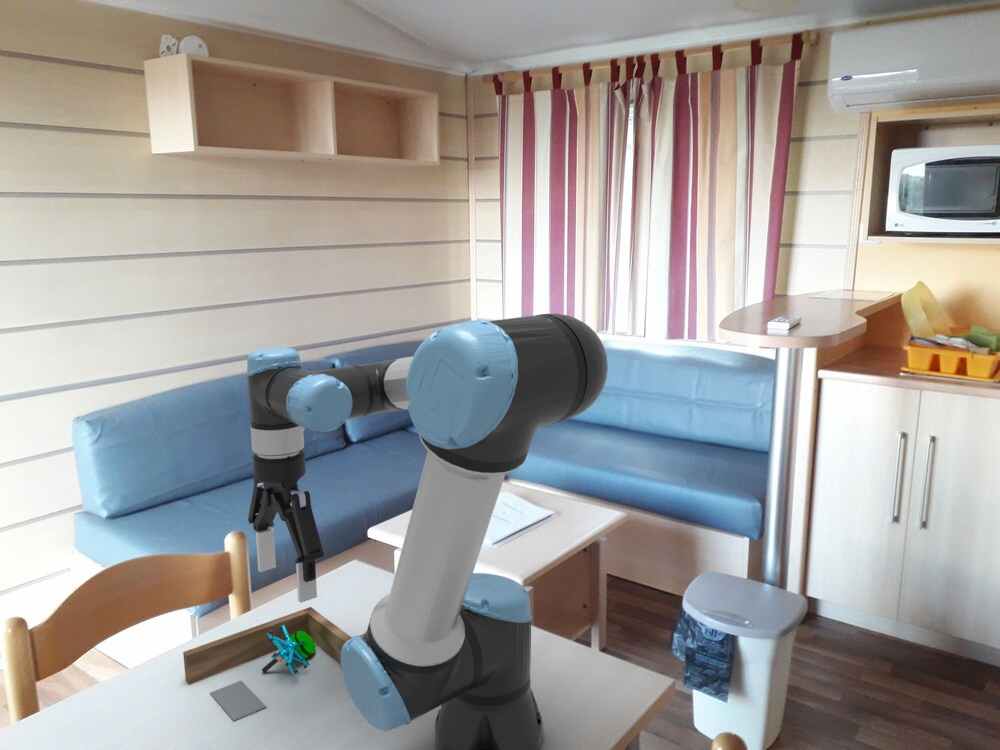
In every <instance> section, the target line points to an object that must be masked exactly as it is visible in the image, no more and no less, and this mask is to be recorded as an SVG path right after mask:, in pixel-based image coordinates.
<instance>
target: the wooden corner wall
mask: <svg viewBox="0 0 1000 750" xmlns="http://www.w3.org/2000/svg"><path fill="white" fill-rule="evenodd" d="M282 625H284V626H285V628H286V630H287V632H288V634H291V635H295V633H297V632H298V631H303V632H305V633H307V634H308V635H309V636H310V637H311V638H312V639H313V641H314V643H315V646H317V647H318V648H320V649H321V650H322V651H324V652H325V653H326V654H327V655H328V656H329V657H331V658H332V660H334V661H335V662H336V663H338V664H339V665H340V666H341V650H342V647H343V645H344V644H345V643H346V642H347V641H348V640H350V639H352V637H353V636H352V637H351V636H350V635H349V634H347V632H345V630H344V631H343V630H342V629H341V628H340V627H338V626H337V624H334V623H333V622H331V620H329V619H328V618H326V617H325V616H324V615H322V614H321V613H320V612H318V611H317V610H316V609H314V608H313V607H312V606H310V607H309V606H308V607H305V608H303V609H301V610H298V611H295V612H293V613H292V612H291V613H289V614H286V615H284V616H281V617H279V618H275V619H273V620H270V621H267V622H264V623H261V624H258V625H256V626H253V627H250V628H247V629H245V630H242V631H239V632H236V633H234V634H233V633H232V634H230V635H227V636H224V637H222V638H219V639H217V640H213V641H210V642H207V643H205V644H202V645H199V646H196V647H193V648H190V649H188V650H185V651H183V653H182V655H183V665H184V677H185V682H186V683H187V684H188V685H189V686H190V685H192V684H196V683H198V682H201V681H203V680H205V679H208V678H211V677H213V676H215V675H218V674H221V673H224V672H226V671H227V670H228V671H229V670H231V669H233V668H236V667H238V666H240V665H243V664H246V663H249V662H251V661H253V660H256V659H258V658H261V657H263V656H266V655H268V654H271V653H275V652H277V651H278V650H279V651H280V649H279V648H278V647H277V646H276V645H275V644H274V642H273V641H272V642H271V641H270V638H269V637H268V635H267V634H268V633H269V632H270V631H273V633H272V634H271V635H272V636H273V637H274V636H275V637H278V638H280V639H282V640H284V641H285V638H286V637H285V634H284V632H283V629H281V630H279V628H280V627H281V626H282ZM280 645H281V646H282V647H284V645H283V644H281V643H280Z"/></svg>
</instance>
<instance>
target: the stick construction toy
mask: <svg viewBox="0 0 1000 750" xmlns="http://www.w3.org/2000/svg"><path fill="white" fill-rule="evenodd" d="M281 629H283V632H284V634H285V637H286V638H285V641H284V640H282V639H280V638H278V637H275V636H274V637H273V636H272V635H271V634H272V633H273V631H270V632H269V633H268V634H267V635H268V637H269V638H270V641H271V642H272V641H273V642H274V644H275V645H276V646H277V647H278V648H279V651H278V652H273V654H272V655H271V656H270V657H271V661H269V662H268V663H267V664H266V665H265V666H264V667H263V668H261V672H262V673H263V674H265V673H267V672H268V671H269V670H270V669H271V668H273V666H274V665H276V664H277V663H278V662H279V663H280V662H282V661H284V660H285V661H286V663H285V666H286V667H288V668H289V669H290V671H291V674H292V675H293V676H294V675H296V674H297V673H298V672H299V670H298V669H295V667H294V665H293V663H292V662H293V660H295V661H297V662H300V663H303V664H304V666H303V668H304V669H307V668H308V667H309V666H310V663H309V662H308V661H307V658H308V657H309V656H311V655H313V654H314V653H315V652H316V649H317V648H316V644H315V643H314V641H313V639H312V638H311V637H310V636H309V635H308V634H307V633H305V632H303V631H298V632H297V633H295V635H291V634H288V632H287V630H286V628H285V626H284V625H282V626H281V627H280V628H279V630H281ZM280 643H281V644H283V645H284V647H282V646H281V645H280Z"/></svg>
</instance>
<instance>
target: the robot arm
mask: <svg viewBox="0 0 1000 750" xmlns="http://www.w3.org/2000/svg"><path fill="white" fill-rule="evenodd" d="M246 360H247V361H246V362H247V371H246V372H247V373H246V379H247V389H248V391H247V392H248V401H249V412H250V413H249V415H250V416H249V417H250V439H251V440H250V441H251V451H252V453H254V454H253V456H252V463H253V490H252V495H251V502H250V507H249V510H248V511H249V512H248V517H247V518H248V520H247V521H248V523H249V524H250V525H252V524H253V525H252V529H253V530H254V531H255V540H256V541H255V542H256V556H257V557H256V558H257V570H258V572H259V573H262V572H266V571H269V570H272V569H275V568H277V562H276V561H277V560H276V546H275V545H276V544H275V543H276V542H275V529H274V528H272V527H275V522H274V520H275V518H276V515H277V514H278V516H279V518H280V521H282V522H285V525H286V527H287V530H288V532H289V536H290V538H291V541H292V543H293V544H292V545H293V546H294V549H295V552H296V554H297V558H296V559H294V562H295V570H296V587H297V588H296V589H297V601H298V602H299V603H300V604H301V603H304V602H307V601H310V600H313V599H315V598H318V591H317V590H318V588H317V587H318V586H317V572H316V569H317V567H316V560H318V559H322V558H324V555H325V554H324V550H323V547H322V543H321V539H320V535H319V532H318V527H317V523H316V520H315V516H314V513H313V509H312V503H311V502H312V501H311V495H310V494H311V493H310V492H309V491H308V490H306V491H305V490H304V491H300V490H299V489H300V488H299V485H298V483H299V482H298V481H299V480H300V479H301V478H303V477H304V476H305V474H306V472H307V469H306V468H307V467H306V466H307V465H306V453H305V451H304V450H303V449H304V447H305V437H304V432H305V431H306V430H309V431H314V432H320V433H321V432H322V433H326V432H327V433H328V432H332V431H336V430H337V429H338V428H339V427H341V426H342V425H343V424H345V423H346V421H347V420H353V419H358V418H362V417H366V416H372V415H376V414H382V413H383V414H384V413H387V412H388V413H389V412H400V411H408V414H409V416H410V419H411V422H412V424H413V427H414V428H415V430H416V431H417V433H418V436H419V439H420V442H421V443H422V445H423V446H424V449H426V450H427V452H426V453H427V454H426V457H425V460H424V461H425V462H424V466H423V469H422V472H421V476H420V481H419V483H418V488H417V491H416V496H415V498H414V503H413V506H412V509H411V514H410V518H409V522H408V524H407V528H406V532H405V535H404V540H403V544H402V547H401V550H400V554H399V558H398V559H399V560H398V562H397V567H396V570H395V573H394V577H393V580H392V585H391V589H390V593H388V594H386V595H384V596H383V597H382V598H381V599H380V600H378V602H377V603H376V604H375V606H374V608H373V609H372V611H371V614H370V618H369V622H368V625H367V629H366V631H365V632H364V633H363V634H360V635H357V634H356V635H355V634H354V635H353V636H352V639H350V640H348V641H347V642H346V643H345V644H344V645H343V647H342V650H341V665H340V666H341V667H340V668H341V671H342V676H343V680H344V683H345V686H346V688H347V691H348V693H349V696H350V698H351V700H352V702H353V703H354V705H355V707H356V709H357V710H358V712H359V713H360V715H361V716H362V717H363V718H364V720H365V721H366V722H367V723H368V724H369V725H370V726H371V727H372V728H375V729H378V730H379V731H383V732H389V731H392V730H395V729H397V728H399V727H402V726H403V725H409V724H410V723H411V722H412V721H414V720H417V719H418V718H420V717H422V716H424V715H426V714H428V713H430V712H432V711H433V710H435V709H437V708H439V707H440V709H439V710H438V712H437V716H436V717H435V720H434V721H435V722H434V742H435V743H434V744H435V746H436V749H437V750H540V748H541V746H542V743H543V739H544V737H543V733H544V732H543V731H544V727H543V726H544V725H543V718H542V715H541V712H540V710H539V707H538V704H537V701H536V698H535V695H534V692H533V689H532V686H531V663H532V662H531V656H532V655H531V653H532V652H531V650H532V649H531V647H532V621H533V616H532V613H531V599H530V594H529V592H528V591H527V589H526V588H525V587H524V586H523V585H522V584H520V582H517V581H516V580H514V579H511V578H510V577H506V576H503V575H498V574H493V573H483V572H474V570H475V567H476V565H477V562H478V559H479V556H480V552H481V550H482V546H483V542H484V541H485V537H486V534H487V532H488V528H489V525H490V522H491V519H492V516H493V513H494V509H495V508H496V507H495V506H496V504H497V501H498V498H499V495H500V492H501V488H502V486H503V482H504V479H505V478H506V475H507V474H510V473H513V472H515V471H517V470H519V469H520V468H521V467H522V466H523V464H524V463H525V462H526V459H527V456H528V453H529V451H530V448H531V445H532V442H533V439H534V437H535V436H534V435H535V433H536V432H537V430H538V429H539V428H540V427H545V426H548V425H552V424H555V423H560V422H562V421H567V420H571V419H573V418H574V417H577V416H579V415H580V414H583V413H584V412H585V411H586V410H587V409H589V408H590V407H591V406H592V405H593V404H594V403H596V400H597V399H598V398H599V397H600V395H601V394H602V391H603V389H604V388H605V386H606V382H607V378H608V367H609V365H608V364H609V363H608V355H607V352H606V349H605V346H604V344H603V342H602V339H600V337H599V336H598V334H597V333H596V332H595V331H594V330H593V329H592V328H591V327H590V326H589V325H588V324H586V323H585V322H583V321H581V320H580V319H578V318H576V317H573V316H570V315H567V314H563V313H562V314H561V313H542V314H536V315H527V316H520V317H512V318H503V319H496V320H489V321H488V320H482V319H480V320H476V319H475V320H473V319H472V320H467V321H464V322H461V323H459V324H457V325H451V326H446V327H445V326H444V327H442V328H440V329H438V330H436V331H434V332H433V333H431V334H430V335H428V336H427V337H426V338H425V339H424V340H423V341H422V343H421V344H420V345H419V346H418V348H417V349H416V351H415V352H414V355H413V356H406V357H399V358H394V359H389V360H383V361H382V360H381V361H377V362H376V361H375V362H371V363H363V364H359V365H358V364H357V365H350V366H349V365H348V366H341V367H336V368H329V369H321V370H305V369H302V367H303V366H302V363H301V357H300V354H299V352H298V351H297V350H296V349H295V348H290V347H267V348H259V349H256V350H253V351H251V352H249V354H248V356H247V359H246Z"/></svg>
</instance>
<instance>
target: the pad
mask: <svg viewBox="0 0 1000 750" xmlns="http://www.w3.org/2000/svg"><path fill="white" fill-rule="evenodd" d="M209 695H210V696H211V697H212V698H213V700H214V701H215V702H216V703H217V704H218V705H219V706H220V707H221V709H222V710H223V711H224V712H225V713H226V715H228V717H229V718H230V719H231V720H232V721H233V722H235V721H238V720H241V719H243V718H245V717H247V716H250V715H253V714H255V713H257V712H260V711H262V710H264V709H267V706H266V704H265V703H264V702H263V701H262V700H261V699H260V698H259V697H258V696H257V695H256V694H255V693H254V692H253V691H252V690H251V689H250V687H248V685H246V684H245V683H244V682H243V681H242V680H239V681H236V682H234V683H231V684H229V685H226V686H223V687H222V688H219V689H216V690H213V691H211V692H209Z"/></svg>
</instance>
